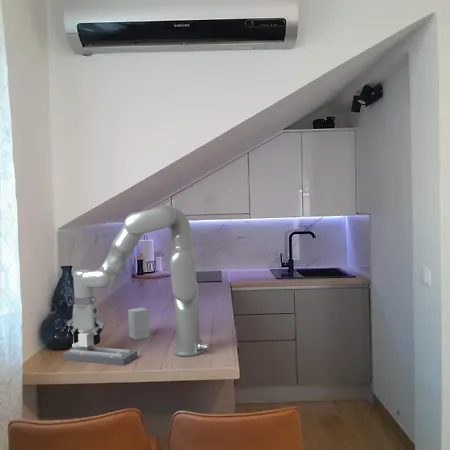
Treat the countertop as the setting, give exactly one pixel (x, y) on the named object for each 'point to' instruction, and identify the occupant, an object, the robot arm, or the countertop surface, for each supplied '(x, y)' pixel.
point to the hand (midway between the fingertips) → (86, 343)
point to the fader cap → (86, 340)
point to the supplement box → (138, 323)
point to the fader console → (101, 355)
